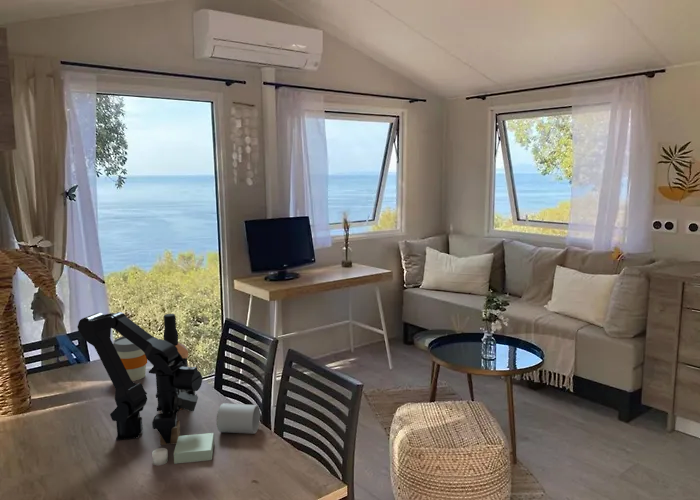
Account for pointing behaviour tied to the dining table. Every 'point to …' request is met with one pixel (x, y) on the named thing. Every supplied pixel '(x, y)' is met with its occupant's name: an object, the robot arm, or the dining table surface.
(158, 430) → the robot arm
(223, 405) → the mug
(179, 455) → the base slab
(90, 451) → the dining table surface
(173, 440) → the walnut cube
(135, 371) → the reusable coffee cup
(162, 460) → the cream tealight
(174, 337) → the whiskey bottle
